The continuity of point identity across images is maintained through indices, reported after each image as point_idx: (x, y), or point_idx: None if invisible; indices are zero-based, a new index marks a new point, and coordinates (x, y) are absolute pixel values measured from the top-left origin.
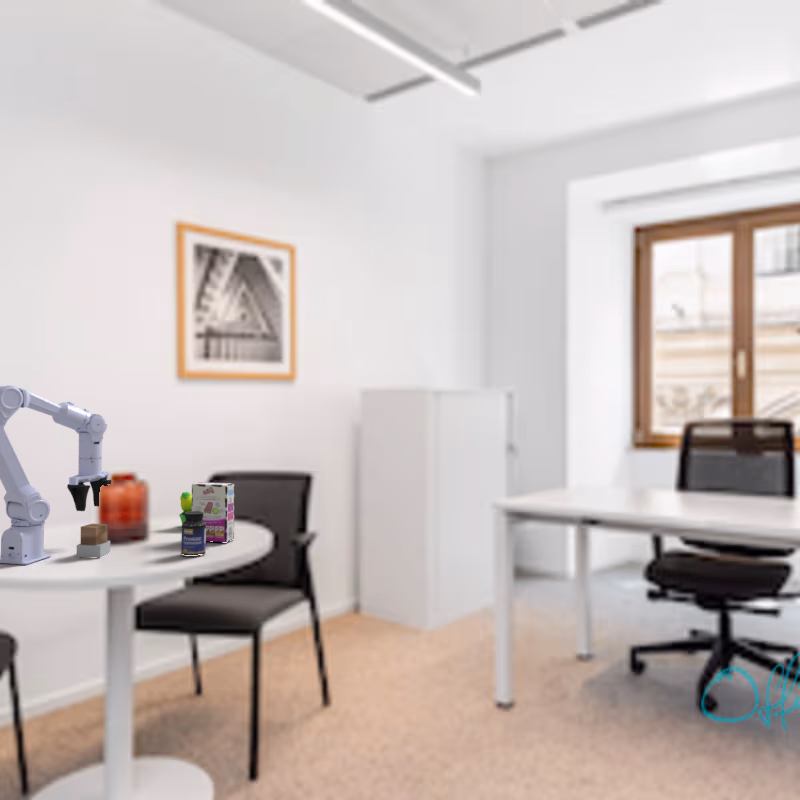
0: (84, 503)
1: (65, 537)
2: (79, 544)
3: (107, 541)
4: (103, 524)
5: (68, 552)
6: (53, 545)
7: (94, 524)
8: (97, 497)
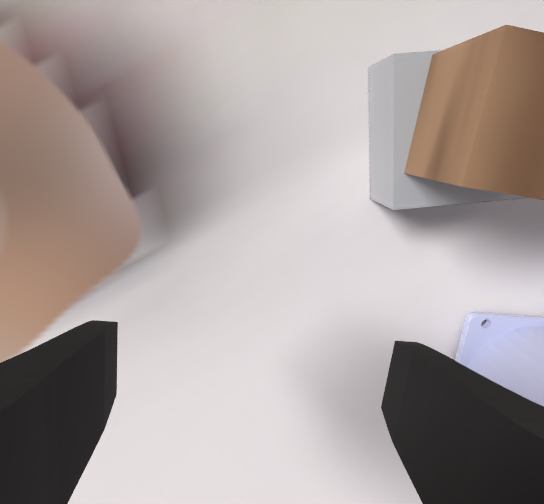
0: (471, 370)
1: None
2: (507, 194)
3: (419, 60)
4: (505, 64)
5: (374, 289)
6: (241, 431)
7: (506, 144)
8: (73, 433)
